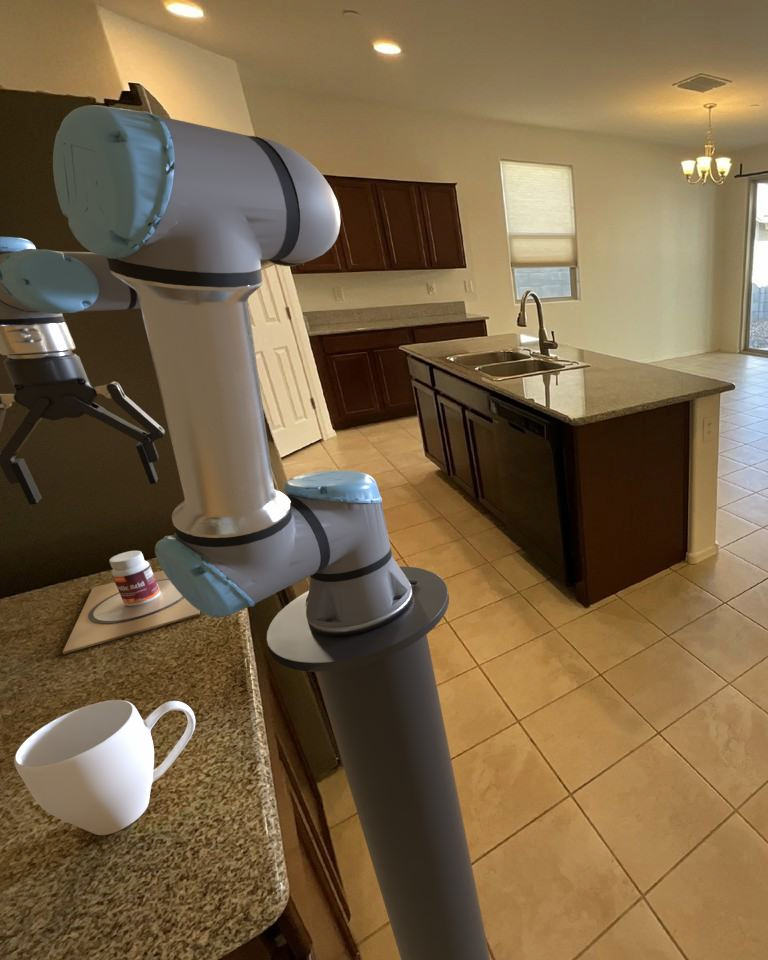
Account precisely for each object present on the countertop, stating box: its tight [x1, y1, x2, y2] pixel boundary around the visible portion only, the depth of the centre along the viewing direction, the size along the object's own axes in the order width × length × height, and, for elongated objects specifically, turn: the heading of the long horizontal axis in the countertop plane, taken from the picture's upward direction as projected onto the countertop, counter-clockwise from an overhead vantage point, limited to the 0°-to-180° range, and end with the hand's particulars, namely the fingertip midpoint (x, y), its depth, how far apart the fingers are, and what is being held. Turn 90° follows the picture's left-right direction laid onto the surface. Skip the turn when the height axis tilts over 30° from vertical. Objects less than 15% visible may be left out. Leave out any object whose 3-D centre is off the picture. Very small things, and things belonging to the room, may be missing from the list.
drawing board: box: [62, 569, 201, 655], centre depth 90 cm, size 16×22×1 cm
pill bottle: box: [108, 550, 160, 606], centre depth 88 cm, size 5×5×8 cm
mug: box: [13, 699, 196, 836], centre depth 53 cm, size 12×8×11 cm
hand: (97, 491), depth 82 cm, fingers open, 13 cm apart
